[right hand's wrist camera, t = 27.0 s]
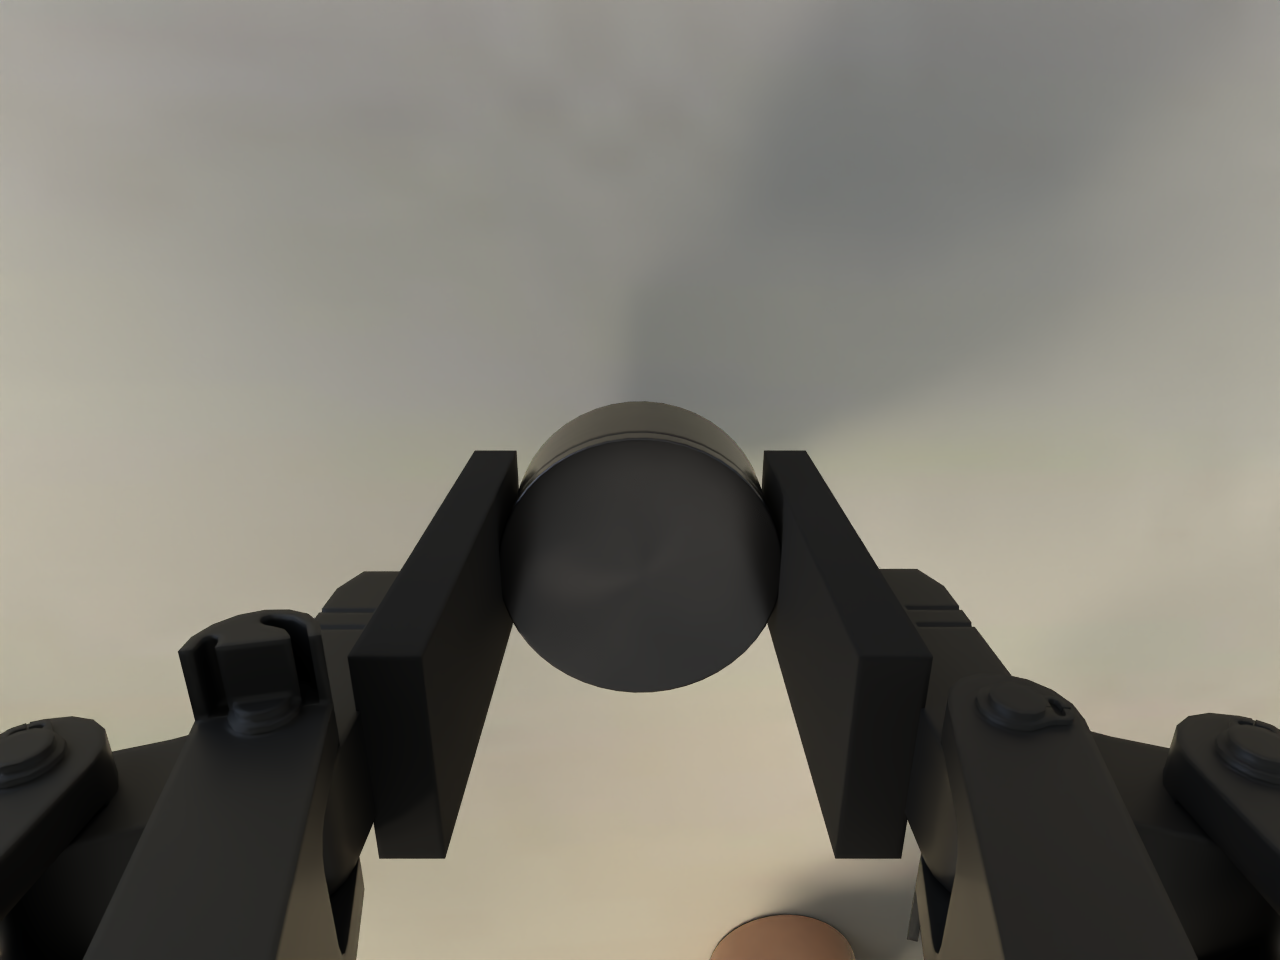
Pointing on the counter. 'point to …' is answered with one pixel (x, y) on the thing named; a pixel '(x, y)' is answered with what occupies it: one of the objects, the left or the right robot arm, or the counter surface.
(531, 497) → the cap
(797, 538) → the right robot arm
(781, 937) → the bottle
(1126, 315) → the counter surface
